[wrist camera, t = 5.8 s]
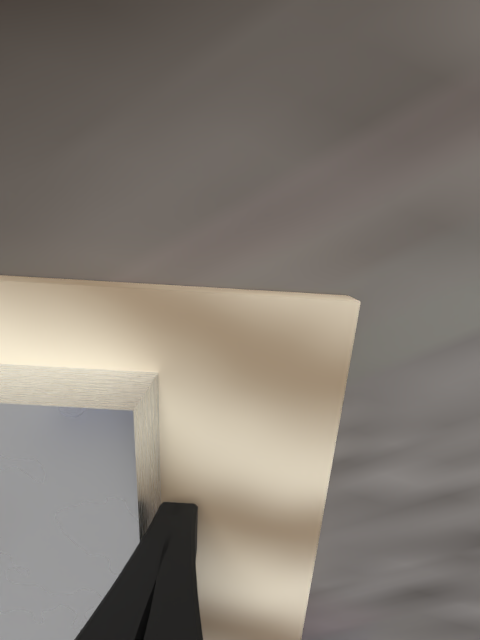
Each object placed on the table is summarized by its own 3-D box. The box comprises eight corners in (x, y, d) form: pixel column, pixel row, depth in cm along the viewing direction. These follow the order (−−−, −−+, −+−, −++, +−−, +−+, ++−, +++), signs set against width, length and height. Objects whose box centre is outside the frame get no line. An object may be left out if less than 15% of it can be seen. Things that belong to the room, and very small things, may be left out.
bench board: (295, 615, 13) (328, 841, 8) (-53, 598, 13) (-236, 817, 8) (347, 295, 9) (476, 357, 4) (-160, 265, 9) (-666, 293, 4)
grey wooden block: (163, 599, 11) (146, 674, 9) (-12, 590, 11) (-66, 664, 9) (158, 372, 8) (133, 410, 6) (-72, 359, 8) (-167, 393, 6)
